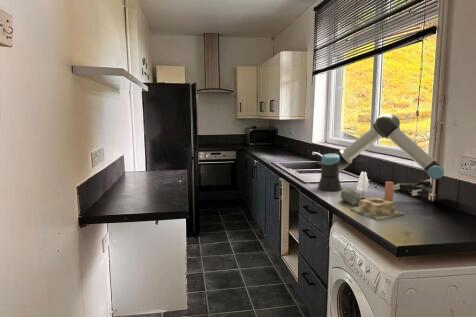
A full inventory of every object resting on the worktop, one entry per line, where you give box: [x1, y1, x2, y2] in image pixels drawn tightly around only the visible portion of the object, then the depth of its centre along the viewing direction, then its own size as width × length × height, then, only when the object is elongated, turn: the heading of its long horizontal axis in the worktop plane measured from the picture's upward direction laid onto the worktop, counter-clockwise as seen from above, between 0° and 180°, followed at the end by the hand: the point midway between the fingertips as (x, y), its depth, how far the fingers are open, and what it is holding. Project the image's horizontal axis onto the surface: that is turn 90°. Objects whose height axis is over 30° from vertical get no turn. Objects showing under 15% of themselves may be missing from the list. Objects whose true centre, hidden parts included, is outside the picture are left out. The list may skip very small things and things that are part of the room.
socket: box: [350, 196, 405, 221], centre depth 166 cm, size 18×18×6 cm
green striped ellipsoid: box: [340, 187, 361, 206], centre depth 185 cm, size 14×10×10 cm
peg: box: [384, 181, 395, 202], centre depth 175 cm, size 4×4×14 cm
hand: (401, 190), depth 178 cm, fingers open, 13 cm apart
